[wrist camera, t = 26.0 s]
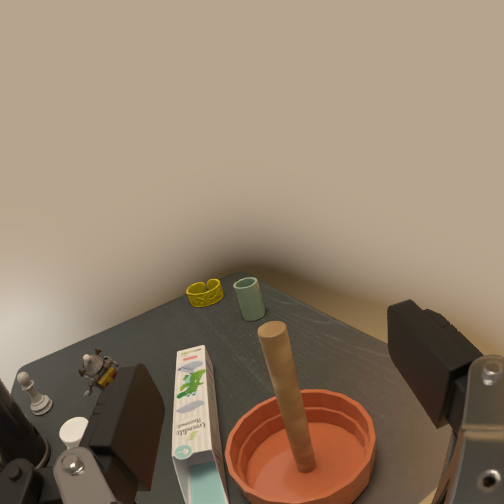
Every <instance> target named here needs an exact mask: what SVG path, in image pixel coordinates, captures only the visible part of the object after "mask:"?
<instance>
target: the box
mask: <svg viewBox="0 0 504 504" xmlns="http://www.w3.org/2000/svg"><path fill="white" fill-rule="evenodd" d="M172 458H173V462H174V466H175V470H176V473H177V477H178V480H179V484H180V487H181V490H182V494H183V497H184V500H185V503H186V504H229V499H228V492H227V485H226V478H225V471H224V463H223V455H222V447H221V439H220V431H219V422H218V413H217V404H216V394H215V384H214V374H213V366H212V363H211V361H210V358H209V356H208V353H207V350H206V348H205V345H201V346H198V347H194V348H190V349H186V350H181V351H178V352H177V363H176V378H175V394H174V413H173V435H172Z"/></svg>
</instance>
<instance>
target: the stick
mask: <svg viewBox="0 0 504 504" xmlns="http://www.w3.org/2000/svg"><path fill="white" fill-rule="evenodd" d="M258 336H259V340H260V343H261V347H262V350H263V354H264V357H265V361H266V364H267V368H268V371H269V375H270V378H271V382H272V385H273V389H274V392H275V395H276V399H277V402H278V406H279V409H280V413H281V416H282V419H283V423H284V426H285V430H286V433H287V436H288V440H289V443H290V447H291V450H292V453H293V457H294V460H295V463H296V467H297V469H298V470H299V471H300V472H302V473H308V472H311V471H312V470H314V468H315V467H316V461H315V456H314V451H313V447H312V442H311V437H310V432H309V428H308V423H307V418H306V414H305V409H304V404H303V400H302V395H301V390H300V386H299V381H298V377H297V372H296V368H295V363H294V359H293V354H292V350H291V345H290V341H289V336H288V332H287V327H286V325H285V323H283V322H281V321H271V322H267V323H265V324H263V325H262V326H260V328H259V329H258Z"/></svg>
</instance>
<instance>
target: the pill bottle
mask: <svg viewBox="0 0 504 504" xmlns="http://www.w3.org/2000/svg"><path fill="white" fill-rule="evenodd" d="M87 424H88V420H87V419H85V418H83V417H75V418H72V419H70V420H68V421H67V422H66V423H65V424H64V425H63V426H62V427H61V429H60V434H59V435H60V438H61V440H62V441H63V442H64V443H65V445H66V446H67V447H68V449H70V448H73V447H78V446H79V443H80V441H81V438H82V436H83V434H84V431H85V429H86V426H87Z"/></svg>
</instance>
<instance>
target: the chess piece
mask: <svg viewBox="0 0 504 504" xmlns="http://www.w3.org/2000/svg"><path fill="white" fill-rule="evenodd" d="M17 380H18V382H19V384H21V385H23V386H22V390H26V392H27V393H28V394H29V396H30V398H31V409H32V410H33V413H34V414H35V415H43V414H45V413H47V412H48V411H49V410H50V409H51V407H52V400H51V399H49V397H48V396H46V395H41V394H39V393H38V392H37V391H36V389H35V387H34V386H33V383H34V382H33V381H32V380H30V377H29V375H28V374H27V373H26V372H21V373H19V374H18V376H17Z"/></svg>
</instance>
